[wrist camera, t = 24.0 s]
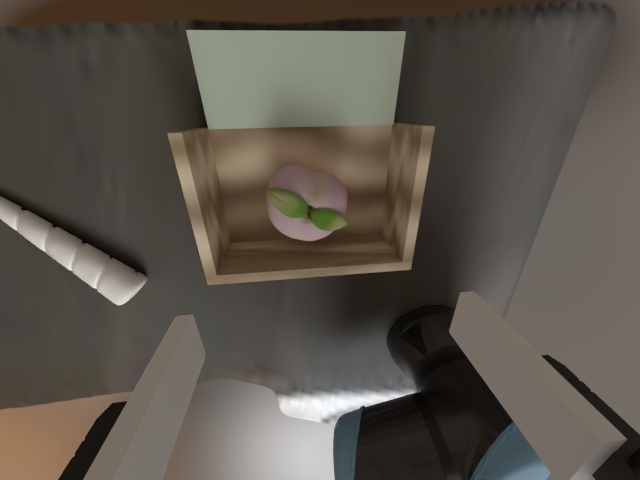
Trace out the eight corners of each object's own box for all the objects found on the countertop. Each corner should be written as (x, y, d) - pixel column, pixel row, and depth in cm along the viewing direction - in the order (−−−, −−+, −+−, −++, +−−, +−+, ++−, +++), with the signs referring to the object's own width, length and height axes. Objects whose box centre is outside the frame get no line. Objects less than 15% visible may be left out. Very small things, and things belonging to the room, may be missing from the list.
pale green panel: (393, 124, 30) (405, 31, 25) (208, 129, 28) (186, 29, 23) (388, 122, 31) (399, 33, 27) (212, 127, 29) (191, 32, 25)
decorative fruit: (262, 212, 34) (252, 247, 25) (275, 150, 31) (269, 166, 22) (328, 227, 36) (341, 265, 27) (347, 171, 33) (368, 193, 24)
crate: (386, 237, 39) (410, 269, 31) (225, 247, 37) (207, 285, 29) (398, 122, 32) (435, 126, 24) (200, 127, 30) (167, 133, 22)
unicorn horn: (-38, 145, 28) (-96, 151, 24) (155, 273, 38) (138, 294, 34) (-56, 173, 29) (-115, 184, 25) (136, 291, 39) (117, 313, 35)
